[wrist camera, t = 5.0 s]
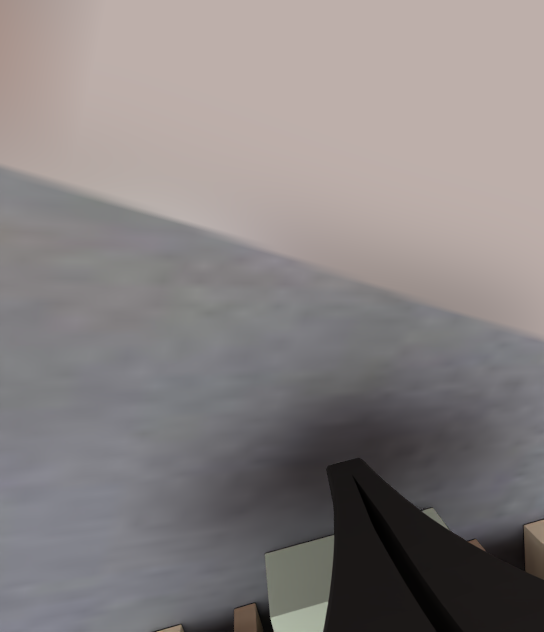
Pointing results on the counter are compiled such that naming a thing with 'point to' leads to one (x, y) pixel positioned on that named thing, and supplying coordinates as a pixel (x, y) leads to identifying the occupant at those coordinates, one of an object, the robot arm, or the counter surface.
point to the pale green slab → (304, 583)
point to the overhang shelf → (538, 539)
